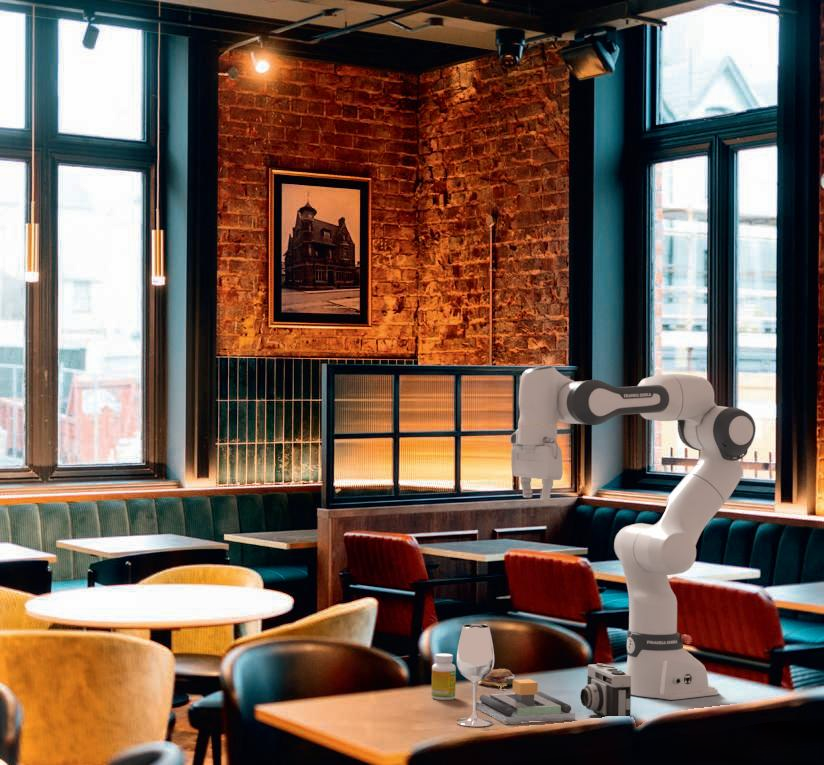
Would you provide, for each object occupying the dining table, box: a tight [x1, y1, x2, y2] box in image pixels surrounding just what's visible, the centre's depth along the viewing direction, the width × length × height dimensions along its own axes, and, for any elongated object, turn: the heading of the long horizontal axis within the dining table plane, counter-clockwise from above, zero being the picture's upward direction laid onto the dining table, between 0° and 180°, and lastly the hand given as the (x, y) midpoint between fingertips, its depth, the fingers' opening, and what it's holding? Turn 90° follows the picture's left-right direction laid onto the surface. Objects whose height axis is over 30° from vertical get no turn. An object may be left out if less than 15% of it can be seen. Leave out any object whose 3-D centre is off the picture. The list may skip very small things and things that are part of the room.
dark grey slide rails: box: [479, 691, 572, 716], centre depth 283 cm, size 15×16×2 cm
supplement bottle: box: [430, 653, 457, 701], centre depth 298 cm, size 5×5×10 cm
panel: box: [476, 692, 576, 724], centre depth 283 cm, size 16×16×3 cm
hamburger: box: [478, 667, 516, 689], centre depth 313 cm, size 14×14×6 cm
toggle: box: [512, 678, 539, 707], centre depth 283 cm, size 4×4×5 cm
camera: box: [580, 662, 632, 717], centre depth 285 cm, size 14×8×10 cm, turn 16°
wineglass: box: [455, 623, 495, 728], centre depth 274 cm, size 8×8×20 cm
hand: (536, 498), depth 298 cm, fingers open, 8 cm apart
